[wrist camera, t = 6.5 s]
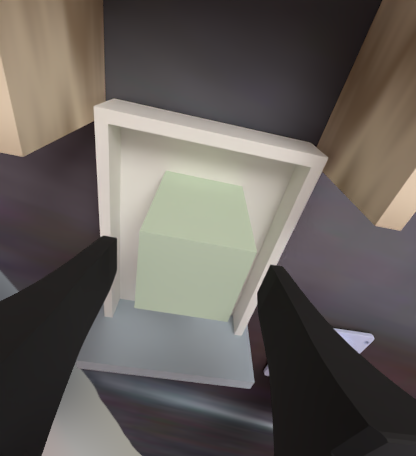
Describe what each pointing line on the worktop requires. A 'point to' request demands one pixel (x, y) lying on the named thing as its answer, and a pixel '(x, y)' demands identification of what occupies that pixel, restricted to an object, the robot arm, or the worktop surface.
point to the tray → (135, 215)
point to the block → (194, 248)
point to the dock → (328, 144)
